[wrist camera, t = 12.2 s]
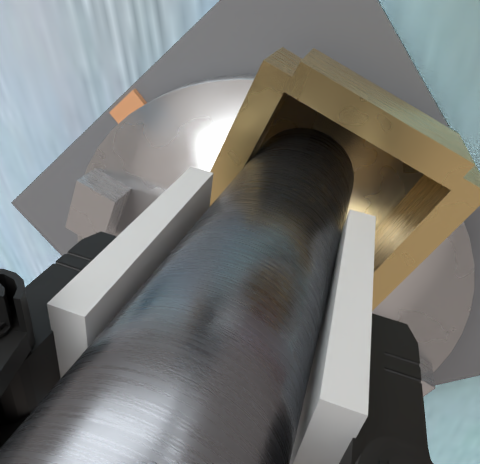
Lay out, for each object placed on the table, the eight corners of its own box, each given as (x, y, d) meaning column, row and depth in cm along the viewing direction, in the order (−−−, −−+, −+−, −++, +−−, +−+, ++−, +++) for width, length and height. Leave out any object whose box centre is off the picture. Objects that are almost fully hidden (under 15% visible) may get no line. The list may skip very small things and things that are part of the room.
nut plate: (327, -90, 15) (320, -100, 13) (560, 324, 21) (578, 358, 19) (33, 189, 26) (7, 205, 25) (238, 408, 32) (229, 435, 30)
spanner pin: (265, 114, 15) (-472, 809, 2) (370, 145, 15) (148, 1354, 2) (244, 204, 18) (-194, 818, 5) (334, 235, 17) (121, 1054, 4)
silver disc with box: (319, 441, 28) (310, 507, 24) (61, 294, 27) (16, 339, 24) (610, 216, 16) (675, 283, 12) (157, -52, 15) (92, -62, 12)
